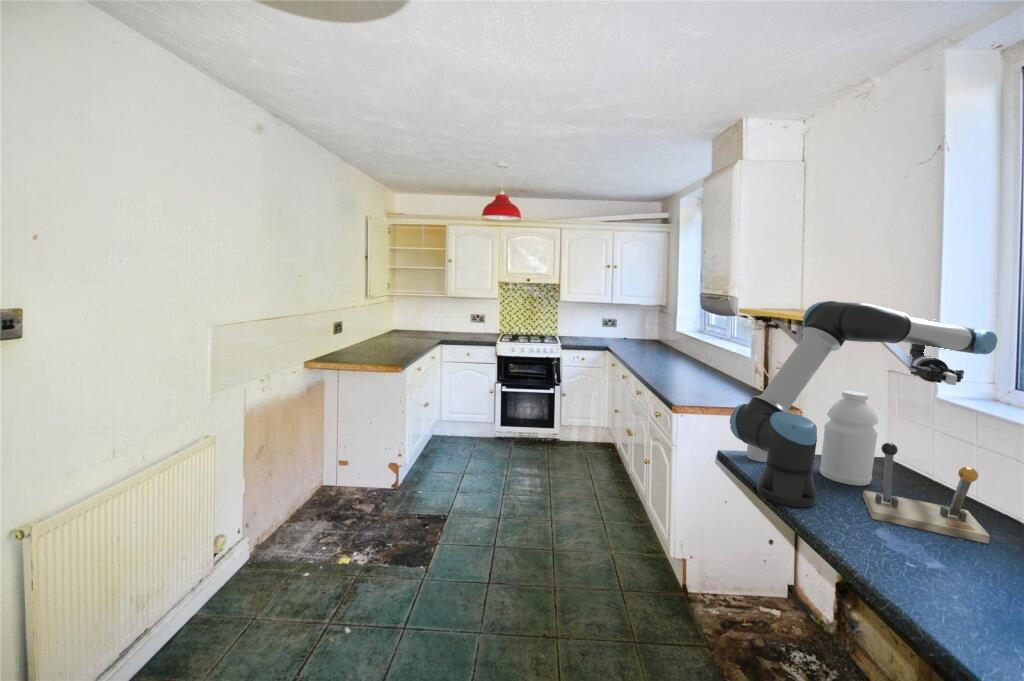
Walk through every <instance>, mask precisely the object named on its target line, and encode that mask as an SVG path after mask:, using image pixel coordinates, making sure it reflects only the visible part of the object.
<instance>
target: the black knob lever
mask: <svg viewBox="0 0 1024 681" xmlns="http://www.w3.org/2000/svg"><path fill="white" fill-rule="evenodd" d="M880 450H881V452H882V453H883V454H884V465H883V482H882V483H883V484H882V485H883V486H882V487H883V488H882V494H883V501H884V502H889V503H890V501H891V496H892V489H893V472H894V471H893V470H894V456H895V455H897V453H898V452H899V450H898V447H897V445H896V444H894V443H893V442H885V443H883V444H882V445H881V449H880Z"/></svg>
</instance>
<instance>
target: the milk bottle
mask: <svg viewBox="0 0 1024 681" xmlns="http://www.w3.org/2000/svg"><path fill="white" fill-rule="evenodd" d="M746 448H747V449H746V457H747V458H748V459H750V460H751V461H754V462H759V463H766V461H767V452H765V451H763V450H761V449H759V448H757V447H754V446H752V445H750V444H747V446H746Z"/></svg>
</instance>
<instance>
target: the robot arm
mask: <svg viewBox="0 0 1024 681" xmlns="http://www.w3.org/2000/svg"><path fill="white" fill-rule="evenodd" d="M802 319H803V321H802V330H801V332H802V335H803V337H802V339H801V340H800V341H799V343H798V344H797V345H796V347H795V348H794V349H793V351H792V352H791V354H790V355H789V356H788V357H787V359H786V361H785V362H784V363H783V364H782V365H781V367H780V369H779V370H778V371H777V373H776V374H775V375H774V377H773V378H772V380H771V381H770V382H769V384H768V385H767V386H766V388H765V389H764V390H763V392H762V393H761V394H760V395H754V396H753V397H752V398H751V399H750V400H749V401H748V403H742V404H738V405H737V406H736V407H735V408H734V409H733V410H732V412H731V414H730V417H729V425H730V430H731V433H732V435H734V437H735V438H737V439H738V440H740V441H741V442H743V443H744V444H747V445H748V444H750V445H752V446H754V447H757V448H759V449H761V450H763V451H765V452H767V461H766V462H765V463H766V464H765V467H764V469H763V471H762V473H761V475H760V477H759V479H758V481H757V484H756V492H757V494H759V496H761V497H763V498H764V499H766V500H768V501H771V502H773V503H776V504H778V505H779V504H780V505H783V506H787V507H793V508H801V509H803V508H804V509H806V508H811V507H815V505H817V500H818V495H817V494H818V493H817V490H816V485H815V483H814V482H815V481H814V477H813V473H814V472H813V471H814V463H815V456H816V448H817V443H818V442H817V441H818V427H817V425H816V424H815V422H814V421H812V419H810V418H807V417H805V416H803V415H800V414H794V413H792V412H789V410H790V409H791V406H792V405H793V404H794V403H795V402H796V400H797V398H798V397H799V396H800V394H801V393H802V392H803V391H804V389H805V388H806V386H807V385H808V383H809V382H810V381H811V379H812V378H813V376H815V374H816V372H817V371H818V369H819V368H820V367H821V365H822V364H823V362H824V361H825V360H826V358H828V356H829V354H830V353H831V352H833V351H839V350H840V348H842V346H843V345H844V343H845V342H846V341H848V342H849V341H850V342H857V343H858V342H859V343H861V342H862V343H888V344H898V343H900V342H902V343H907V344H911V343H913V344H912V349H910V350H909V354H910V355H911V354H912V357H913V359H912V362H911V366H910V369H909V370H910V371H911V372H910V371H909V370H908V371H909V372H910V374H911V375H914V376H916V377H919V378H920V379H922V380H924V381H926V382H929V383H939V384H941V383H942V382H943V383H945V384H948V385H951V386H956V385H957V383H961V381H962V380H963V379H964V374H965V370H963V369H960V370H958V369H955V370H954V369H950V368H949V367H948V364H946V362H944V361H943V360H941V359H939V358H938V359H936V358H934V357H931V356H924V353H923V352H924V349H925V345H926V346H932V347H938V348H944V349H943V350H945V349H950V350H949V351H953V350H954V351H955V352H963V353H967V354H974V355H989V354H991V353H992V352H994V350H995V349H996V348H997V343H998V337H997V334H996V333H995V332H994V331H992V330H988V329H982V328H980V329H979V328H977V329H976V328H972V327H971V328H970V327H965V326H960V325H954V324H950V323H944V322H943V323H939V322H934V321H928V320H925V319H926V318H916V317H912V316H909V315H908V314H907V313H906V312H902V311H899V310H898V311H897V310H895V309H891V308H888V307H887V308H886V307H882V306H878V305H876V304H875V305H874V304H870V303H865V302H863V303H862V302H842V301H834V300H827V301H820V302H819V301H818V302H816V303H814V304H812V305H811V306H810V307H808V308H807V309H806V310H805V312H804V315H803V316H802Z"/></svg>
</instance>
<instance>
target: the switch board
mask: <svg viewBox="0 0 1024 681" xmlns="http://www.w3.org/2000/svg"><path fill="white" fill-rule="evenodd" d="M862 497H863V500H864V502H865V505H866V507H867V509H868V513H869V514H870V517H871V519H873V520H876V521H880V522H885V523H890V524H896V525H901V526H904V527H905V526H906V527H909V528H914V529H919V530H923V531H928V532H933V533H937V534H942V535H947V536H951V537H955V538H959V539H965V540H970V541H973V542H974V541H975V542H978V543H983V544H989V543H990V538H991V535H990V534H989V533H988V532H987V531H986V530H985V529H984V527H983V526H982V525H981V524H980V523H979V521H977V519H976V518H975V517H974V516H973V515H972V514H971V513H970V511H969V510H967V509H963V508H961V509H960V512H959V514H958V516H954V515H950V514H949V507H950V506H948V505H942V504H937V503H932V502H927V501H923V500H916V499H910V498H905V497H902V496H900V497H899V496H894V495H891V501H890V503H889V502H884V501H883V493H882V492H881V493H879V492H874V491H869V490H864V489H863V494H862Z"/></svg>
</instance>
